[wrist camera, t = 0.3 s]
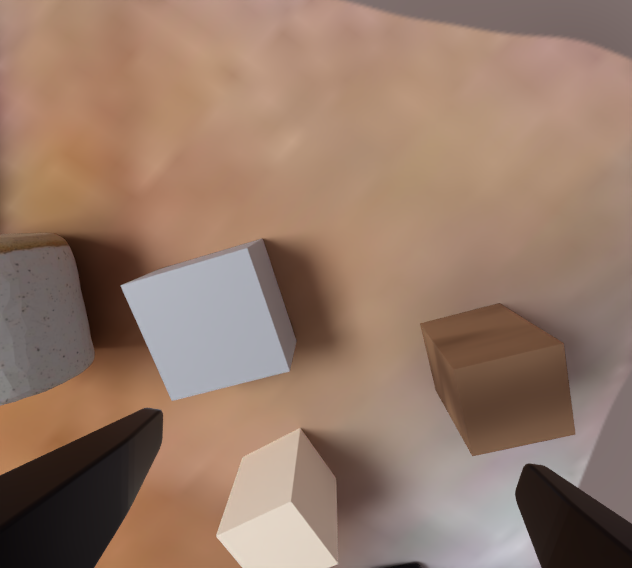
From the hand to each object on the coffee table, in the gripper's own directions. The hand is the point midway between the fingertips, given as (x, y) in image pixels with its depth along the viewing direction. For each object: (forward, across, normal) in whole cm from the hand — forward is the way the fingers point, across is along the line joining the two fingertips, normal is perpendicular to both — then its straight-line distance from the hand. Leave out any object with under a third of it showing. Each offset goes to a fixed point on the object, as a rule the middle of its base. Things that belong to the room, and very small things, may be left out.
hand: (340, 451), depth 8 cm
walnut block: (+14, -9, +2) cm, 16 cm away
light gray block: (+14, +7, +1) cm, 15 cm away
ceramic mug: (+14, +19, +3) cm, 24 cm away
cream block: (+14, +1, +13) cm, 19 cm away
